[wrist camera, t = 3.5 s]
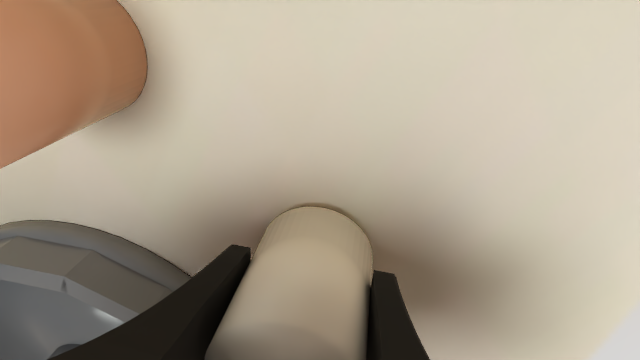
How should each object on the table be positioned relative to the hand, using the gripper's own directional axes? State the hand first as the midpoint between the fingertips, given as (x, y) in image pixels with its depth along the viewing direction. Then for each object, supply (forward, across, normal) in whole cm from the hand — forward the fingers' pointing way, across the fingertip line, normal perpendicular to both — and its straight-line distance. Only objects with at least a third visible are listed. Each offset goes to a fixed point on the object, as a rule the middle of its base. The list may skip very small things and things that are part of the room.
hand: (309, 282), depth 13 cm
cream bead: (+1, 0, 0) cm, 1 cm away
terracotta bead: (+2, +8, -6) cm, 10 cm away
